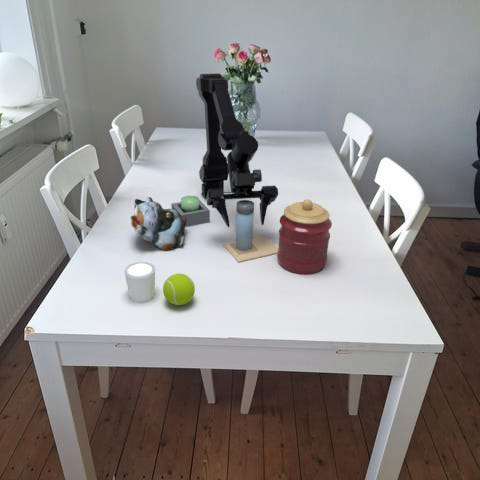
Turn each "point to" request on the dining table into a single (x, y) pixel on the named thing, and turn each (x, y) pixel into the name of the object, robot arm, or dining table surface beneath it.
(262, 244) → the kraft sheet
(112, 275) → the dining table surface
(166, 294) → the tennis ball
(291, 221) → the canister
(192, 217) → the button box
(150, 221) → the lucky cat figurine
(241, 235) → the water bottle
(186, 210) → the button
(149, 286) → the white cylinder
